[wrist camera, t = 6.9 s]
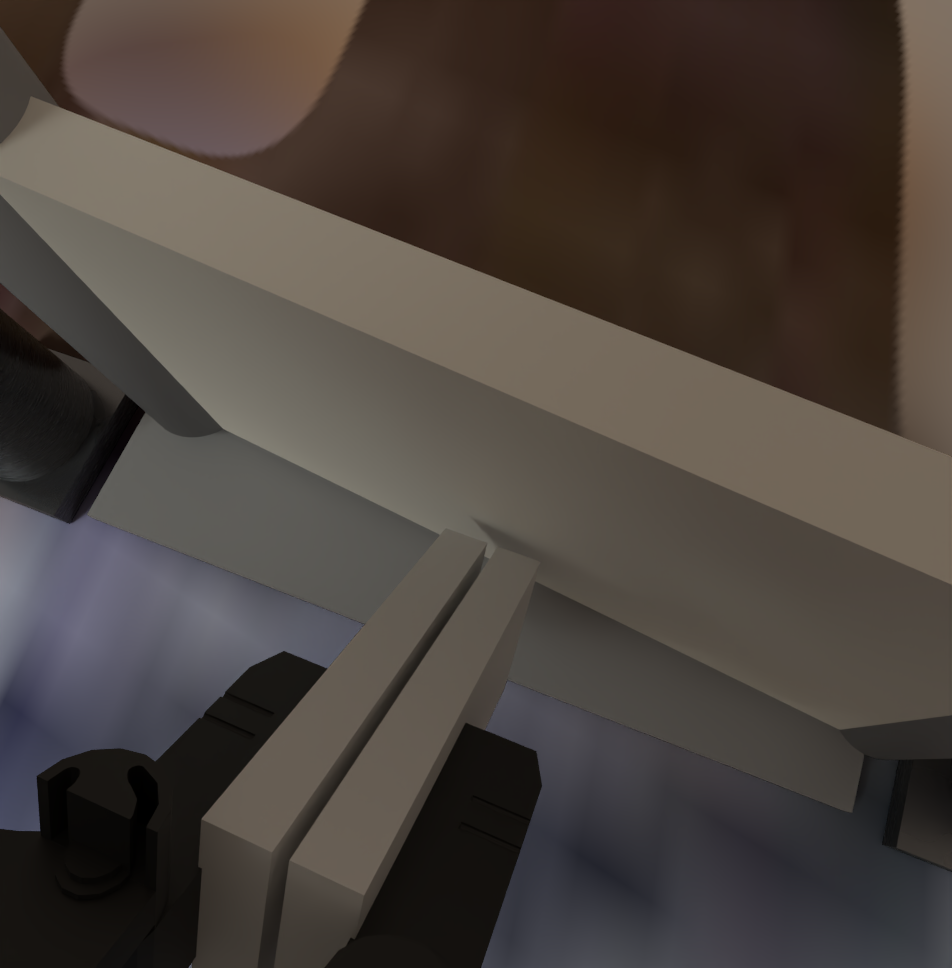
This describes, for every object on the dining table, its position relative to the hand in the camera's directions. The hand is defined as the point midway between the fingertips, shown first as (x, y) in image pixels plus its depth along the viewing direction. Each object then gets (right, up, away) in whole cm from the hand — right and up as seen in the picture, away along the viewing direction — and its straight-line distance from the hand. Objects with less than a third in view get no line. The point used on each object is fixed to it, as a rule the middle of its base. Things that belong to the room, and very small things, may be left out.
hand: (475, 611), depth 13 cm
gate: (0, +1, +2) cm, 3 cm away
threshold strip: (0, 0, +3) cm, 3 cm away
